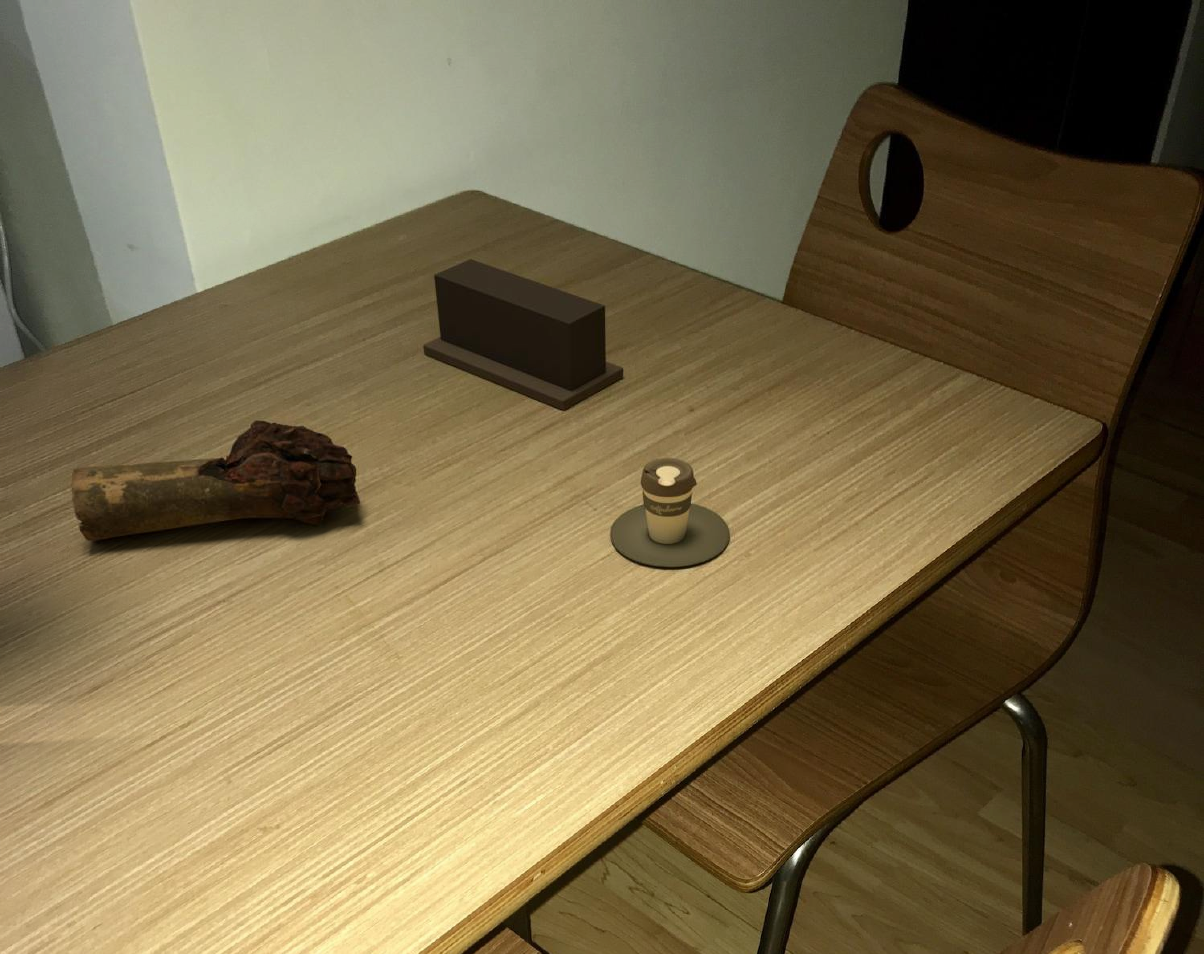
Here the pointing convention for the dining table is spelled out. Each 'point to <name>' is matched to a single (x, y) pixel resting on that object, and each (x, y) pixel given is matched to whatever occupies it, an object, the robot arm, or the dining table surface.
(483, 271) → the dark brown block stand
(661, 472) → the coffee cup
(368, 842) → the dining table surface
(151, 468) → the gnarled wood log
